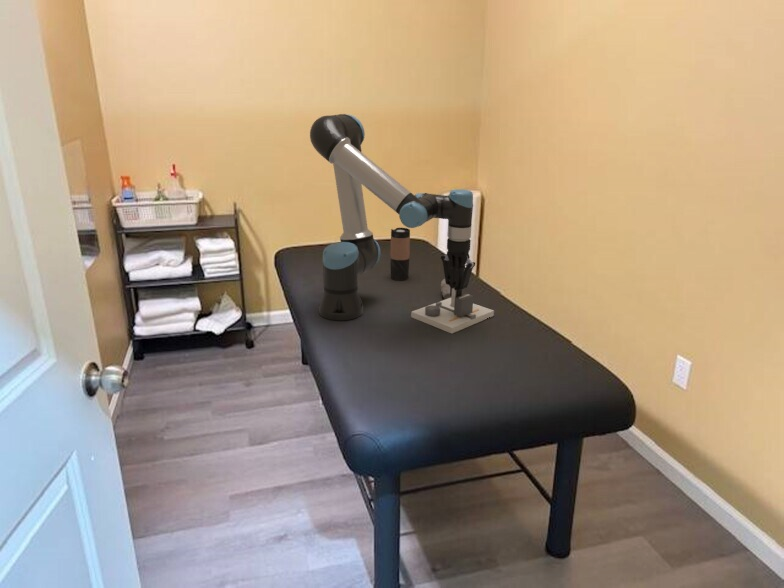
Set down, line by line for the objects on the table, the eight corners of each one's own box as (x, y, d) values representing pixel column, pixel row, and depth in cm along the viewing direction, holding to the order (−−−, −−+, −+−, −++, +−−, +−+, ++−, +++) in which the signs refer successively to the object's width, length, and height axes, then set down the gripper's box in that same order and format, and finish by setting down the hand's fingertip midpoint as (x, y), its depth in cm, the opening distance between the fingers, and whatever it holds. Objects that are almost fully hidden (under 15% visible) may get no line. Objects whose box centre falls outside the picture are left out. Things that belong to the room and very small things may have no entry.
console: (451, 333, 181) (452, 322, 180) (411, 317, 194) (411, 306, 192) (493, 315, 196) (494, 305, 194) (453, 301, 208) (453, 291, 207)
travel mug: (408, 281, 228) (410, 232, 221) (389, 280, 228) (390, 232, 221) (408, 275, 236) (410, 227, 229) (390, 274, 236) (391, 227, 229)
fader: (460, 317, 188) (462, 299, 186) (453, 314, 190) (454, 297, 188) (472, 312, 192) (473, 295, 190) (465, 310, 194) (466, 293, 192)
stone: (445, 301, 208) (446, 286, 206) (432, 293, 216) (432, 278, 214) (464, 298, 211) (465, 283, 209) (450, 290, 220) (451, 276, 218)
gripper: (482, 240, 183) (477, 308, 191) (451, 232, 191) (447, 298, 200) (467, 244, 178) (463, 314, 186) (436, 236, 187) (433, 303, 195)
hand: (455, 306), depth 193 cm, fingers closed
